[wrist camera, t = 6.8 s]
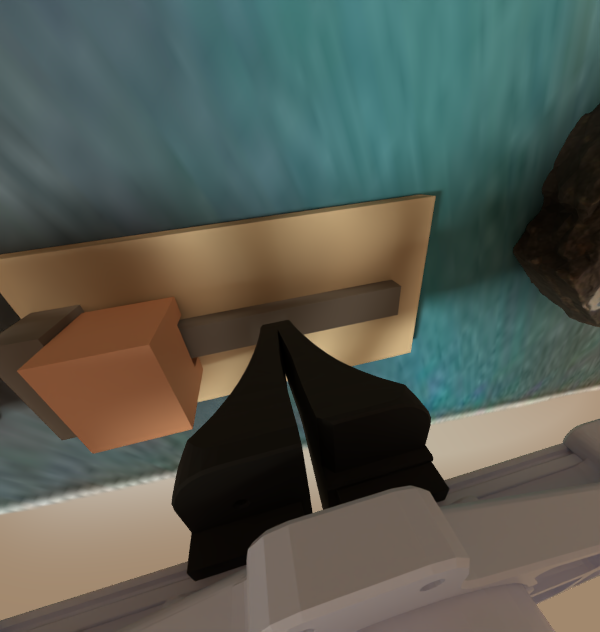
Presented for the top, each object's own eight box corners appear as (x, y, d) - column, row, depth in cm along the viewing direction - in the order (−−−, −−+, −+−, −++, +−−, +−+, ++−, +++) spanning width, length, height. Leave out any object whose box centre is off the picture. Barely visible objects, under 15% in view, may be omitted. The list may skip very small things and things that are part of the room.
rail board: (113, 408, 16) (79, 471, 12) (1, 254, 11) (-108, 291, 7) (400, 342, 19) (437, 380, 15) (420, 194, 13) (482, 201, 10)
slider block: (128, 385, 14) (92, 453, 10) (81, 312, 11) (16, 371, 8) (203, 369, 14) (192, 429, 11) (174, 296, 12) (149, 344, 8)
